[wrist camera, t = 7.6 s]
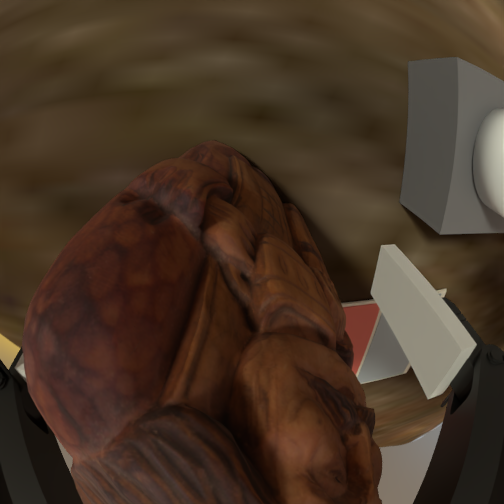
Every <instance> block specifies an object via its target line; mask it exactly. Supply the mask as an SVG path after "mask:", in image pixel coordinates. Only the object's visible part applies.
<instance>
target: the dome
mask: <svg viewBox="0 0 504 504" xmlns="http://www.w3.org/2000/svg"><path fill="white" fill-rule="evenodd" d="M473 175H474V182H475V187H476V190H477V193H478V195H479V198H480V199H481V201H482V202H483V203H484V204H485V205H486V206H487V207H488V208H490V209H492V210H493V211H495V212H496V213H498V214H499V215H501V216H502V217H503V218H504V108H497V109H494V110H493V111H491V112H490V113H489V114H488V115H487V116H486V117H485V119H484V120H483V122H482V124H481V126H480V128H479V131H478V134H477V137H476V141H475V147H474V154H473Z"/></svg>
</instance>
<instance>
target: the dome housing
mask: <svg viewBox="0 0 504 504" xmlns="http://www.w3.org/2000/svg"><path fill="white" fill-rule="evenodd" d="M408 78H409V101H408V128H407V143H406V154H405V164H404V173H403V181H402V188H401V195H400V203H401V204H402V205H404V206H405V207H406V208H407V209H409V210H410V211H411V212H413V213H414V214H415V215H417V216H418V217H419V218H420V219H422V220H423V221H424V222H425V223H427V224H428V225H429V226H430V227H431V228H433V229H434V230H435V231H436V232H437V233H439V234H474V233H504V218H503V217H502V216H501V215H499V214H498V213H496V212H495V211H493V210H492V209H490V208H488V207H487V206H486V205H485V204H484V203H483V202H482V201H481V199H480V198H479V195H478V193H477V190H476V187H475V182H474V175H473V154H474V147H475V141H476V137H477V134H478V131H479V128H480V126H481V124H482V122H483V120H484V119H485V117H486V116H487V115H488V114H489V113H490V112H491V111H493V110H494V109H497V108H504V81H502V80H500V79H499V78H497V77H495V76H493V75H492V74H490V73H488V72H486V71H484V70H482V69H481V68H479V67H477V66H475V65H473V64H471V63H469V62H466V61H464V60H462V59H460V58H458V57H451V58H437V59H426V60H417V61H409V62H408Z"/></svg>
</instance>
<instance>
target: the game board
mask: <svg viewBox="0 0 504 504" xmlns="http://www.w3.org/2000/svg"><path fill="white" fill-rule="evenodd" d="M446 291H447V289H441V290H436V292H437V293H438V294H439V295H440V296H441V298H442V297H444V296H445V293H446ZM341 304H342V307H343V310H344V312H345V315H346V327H345V331H346V332H347V334H348V336H349V338H350V340H351V342H352V344H353V352H354V359H353V366H352V371H353V372H354V374H355V375H356V377H357V379H358V381H359V382H360V384H362V383H367V382H372V381H376V380H380V379H385V378H389V377H393V376H397V375H401V374H404V373H407V371H408V369H409V368H410V366H411V364H410V362H409V360H408V359H407V357H406V355H405V353H404V351H403V349H402V347H401V345H400V344H399V342H398V340H397V338H396V336H395V335H394V333H393V331H392V329H391V327H390V326H389V324H388V322H387V320H386V319H385V317H384V315H383V313H382V312H381V310H380V308H379V307H378V305H377V303H376V302H375V300H374V299H372V300H364V301H355V302H346V303H341Z"/></svg>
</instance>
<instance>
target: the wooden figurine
mask: <svg viewBox="0 0 504 504" xmlns="http://www.w3.org/2000/svg"><path fill="white" fill-rule="evenodd" d="M345 327H346V315H345V312H344V310H343V307H342V304H341V301H340V300H339V297H338V294H337V291H336V290H335V287H334V284H333V282H332V281H331V280H330V277H329V275H328V273H327V269H326V267H325V264H324V261H323V259H322V257H321V254H320V252H319V250H318V248H317V246H316V244H315V242H314V240H313V239H312V237H311V234H310V232H309V230H308V227H307V225H306V223H305V221H304V219H303V217H302V215H301V214H300V212H299V211H298V209H297V208H296V207H295V205H293V204H291V203H282V202H281V200H280V198H279V196H278V194H277V192H276V190H275V188H274V186H273V185H272V183H271V182H270V180H269V179H268V177H267V176H266V175H265V174H264V173H262V172H261V171H260V170H259V169H258V168H255V167H253V166H251V165H250V163H249V162H248V160H247V159H246V158H245V157H244V156H242V155H241V154H240V153H239V152H237V151H236V150H235V149H233V148H232V147H229V146H227V145H225V144H223V143H220V142H218V141H216V140H212V141H206V142H203V143H201V144H199V145H197V146H195V147H193V148H191V149H189V150H188V151H187V152H185V153H184V154H183V155H182V156H180V157H179V158H172V159H167V160H164V161H161V162H159V163H157V164H156V165H154V166H152V167H151V168H149V169H148V170H146V171H145V172H143V173H142V174H140V175H139V176H138V177H136V178H135V179H134V180H133V181H132V182H131V183H130V184H129V185H128V187H127V188H126V189H125V190H123V191H121V192H120V193H118V194H117V195H116V196H115V197H114V198H113V199H112V200H110V201H109V202H108V203H107V204H106V205H105V206H104V207H103V208H102V209H101V210H100V211H99V212H98V213H97V214H95V215H94V216H93V217H92V218H91V219H90V220H89V221H88V222H87V223H86V224H85V225H84V226H83V227H82V228H81V229H80V230H79V231H78V232H77V233H76V234H75V235H74V236H73V237H72V238H71V240H70V241H69V242H68V243H67V245H66V246H65V247H64V249H63V250H62V251H61V253H60V254H59V255H58V257H57V258H56V260H55V261H54V263H53V264H52V266H51V267H50V269H49V270H48V272H47V274H46V275H45V277H44V278H43V280H42V282H41V283H40V285H39V287H38V288H37V290H36V292H35V294H34V296H33V298H32V300H31V302H30V305H29V308H28V311H27V314H26V318H25V325H24V333H23V341H22V350H23V356H24V370H25V375H26V381H27V386H28V392H29V394H30V396H31V398H32V399H33V401H34V403H35V405H36V407H37V409H38V410H39V412H40V413H41V415H42V416H43V418H44V420H45V421H46V423H47V424H48V426H49V427H50V429H51V430H52V431H53V433H54V434H55V436H56V437H57V438H58V440H59V441H60V443H61V444H62V445H63V446H64V448H65V449H66V451H67V452H68V453H69V454H70V455H71V456H72V457H73V464H72V467H71V474H72V477H73V480H74V482H75V485H76V489H77V491H78V493H79V496H80V498H81V500H82V502H83V504H382V500H380V498H379V494H378V489H377V487H378V484H379V481H380V478H381V473H382V456H381V452H380V448H379V447H378V446H377V444H376V443H375V441H374V440H373V438H372V433H373V429H374V425H375V412H374V409H372V408H367V407H366V402H365V398H366V397H365V393H364V390H363V389H362V387H361V384H360V382H359V381H358V379H357V377H356V375H355V374H354V372H353V371H352V366H353V359H354V352H353V344H352V342H351V340H350V338H349V336H348V334H347V332H346V331H345Z"/></svg>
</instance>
